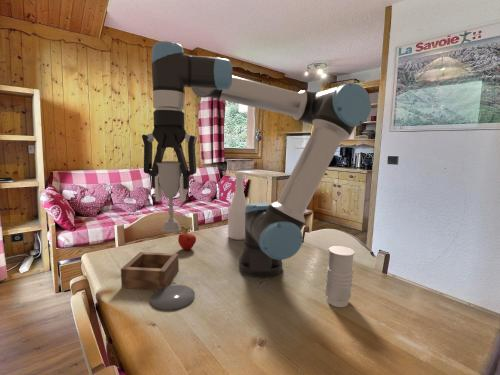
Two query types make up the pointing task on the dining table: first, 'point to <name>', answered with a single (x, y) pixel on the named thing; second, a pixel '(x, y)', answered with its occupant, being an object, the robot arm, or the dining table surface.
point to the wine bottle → (237, 211)
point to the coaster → (172, 297)
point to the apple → (186, 240)
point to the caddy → (149, 271)
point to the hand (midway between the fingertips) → (170, 200)
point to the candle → (339, 275)
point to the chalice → (170, 189)
